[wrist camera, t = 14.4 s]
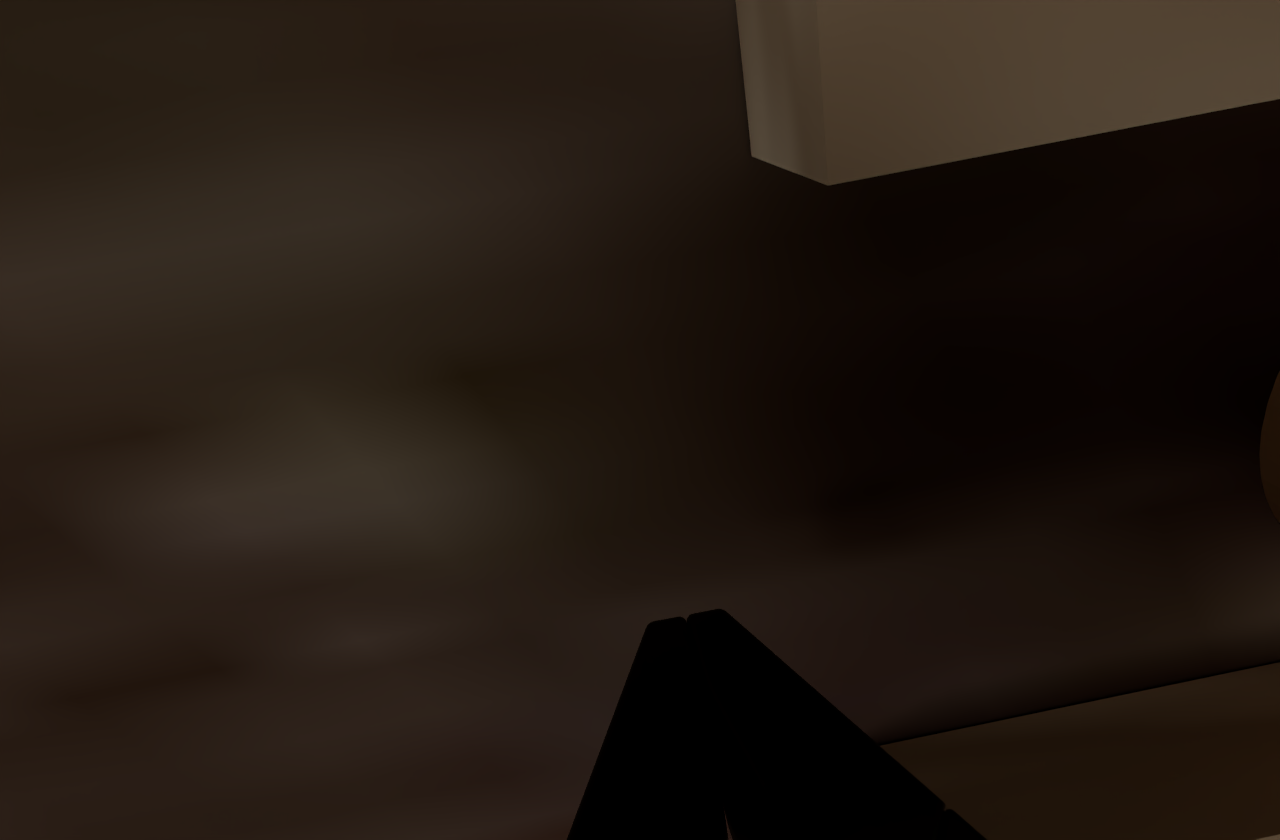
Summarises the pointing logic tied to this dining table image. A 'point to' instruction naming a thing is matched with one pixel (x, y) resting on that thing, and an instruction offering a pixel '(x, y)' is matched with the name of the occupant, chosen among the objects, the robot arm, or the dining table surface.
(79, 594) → the dining table surface
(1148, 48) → the tan piece
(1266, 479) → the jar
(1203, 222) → the dining table surface
